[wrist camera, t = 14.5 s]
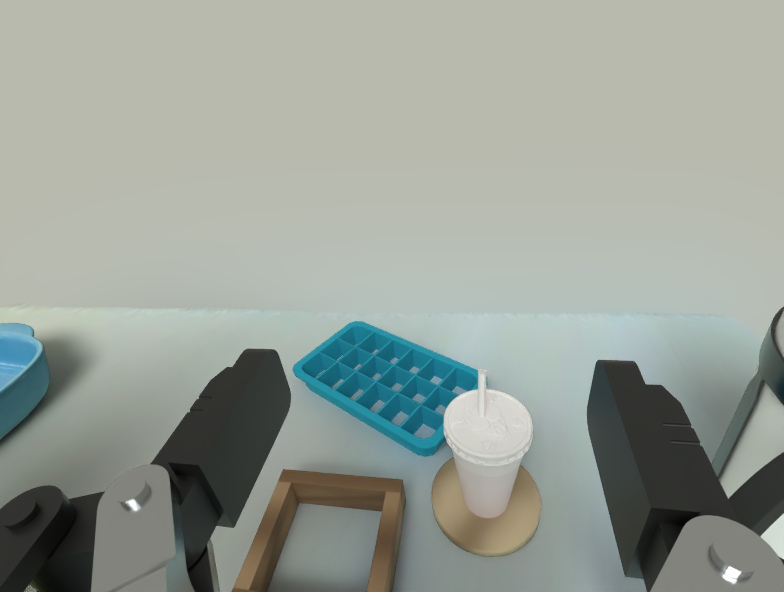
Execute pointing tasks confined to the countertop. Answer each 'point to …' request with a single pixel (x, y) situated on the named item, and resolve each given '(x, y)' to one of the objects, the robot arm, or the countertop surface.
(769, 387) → the coffee press
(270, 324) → the countertop surface
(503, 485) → the smoothie
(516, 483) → the trivet
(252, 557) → the square wooden frame
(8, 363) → the casserole dish
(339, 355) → the ice cube tray
